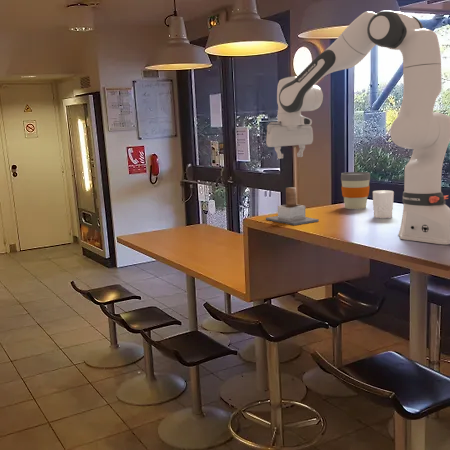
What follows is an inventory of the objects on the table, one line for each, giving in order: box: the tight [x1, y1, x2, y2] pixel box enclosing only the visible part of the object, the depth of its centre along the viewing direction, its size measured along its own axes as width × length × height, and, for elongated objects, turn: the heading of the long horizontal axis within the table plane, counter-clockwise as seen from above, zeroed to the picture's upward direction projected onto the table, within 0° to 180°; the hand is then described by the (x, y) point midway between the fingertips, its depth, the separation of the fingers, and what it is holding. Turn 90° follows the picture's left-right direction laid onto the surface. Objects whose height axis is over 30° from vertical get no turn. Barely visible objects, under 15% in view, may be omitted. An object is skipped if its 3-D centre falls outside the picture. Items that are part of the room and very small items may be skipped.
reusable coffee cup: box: [340, 171, 371, 210], centre depth 241 cm, size 13×13×15 cm
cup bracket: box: [265, 204, 319, 226], centre depth 217 cm, size 18×12×6 cm, turn 32°
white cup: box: [372, 189, 395, 219], centre depth 216 cm, size 8×8×10 cm
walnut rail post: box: [285, 186, 298, 207], centre depth 216 cm, size 4×4×12 cm
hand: (290, 157), depth 213 cm, fingers open, 8 cm apart
